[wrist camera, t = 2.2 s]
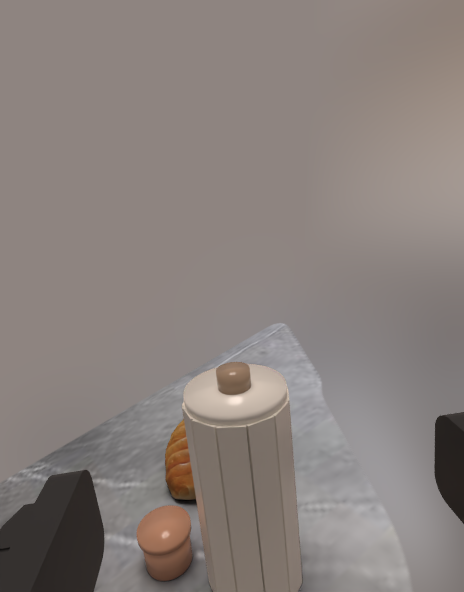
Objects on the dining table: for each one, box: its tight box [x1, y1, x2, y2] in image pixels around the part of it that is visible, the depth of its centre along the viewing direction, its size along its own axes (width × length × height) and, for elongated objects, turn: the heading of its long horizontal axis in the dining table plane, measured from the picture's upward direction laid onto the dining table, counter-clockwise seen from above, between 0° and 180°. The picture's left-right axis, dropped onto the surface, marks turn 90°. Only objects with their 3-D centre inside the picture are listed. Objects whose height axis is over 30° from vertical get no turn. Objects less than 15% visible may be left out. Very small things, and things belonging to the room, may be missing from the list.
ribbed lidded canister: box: [182, 362, 303, 592], centre depth 22 cm, size 6×6×14 cm
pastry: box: [165, 419, 196, 500], centre depth 34 cm, size 9×7×4 cm
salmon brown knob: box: [137, 506, 192, 581], centre depth 25 cm, size 3×3×3 cm
